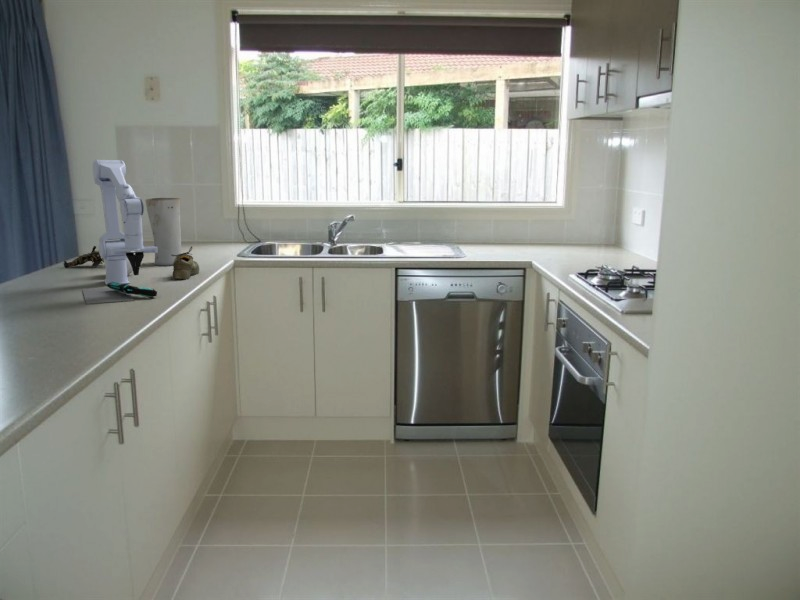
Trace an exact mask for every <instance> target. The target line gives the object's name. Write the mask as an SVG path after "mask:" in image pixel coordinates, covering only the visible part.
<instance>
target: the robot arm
mask: <svg viewBox="0 0 800 600" xmlns="http://www.w3.org/2000/svg"><path fill="white" fill-rule="evenodd" d="M126 173H127V168H126V164H125V162H124V161H123V159H114V160H113V159H95V160H94V161H93V163H92V174H93V175H92V176H93V181H94V184H96V185H97V186H99V187H100V193H101V200H102V210H103V217H104V218H103V219H104V225H105V232H104V233H102V235H100V236H99V238H98V251H99V254H100V256H101V258H103V259H105V265H104V268H105V279H104V280H103V281H104V283H105V285H106V286H107V284H108V283H112V282H115V283H121V284H126V285H129V284H130V283H131V282H130V281H129V278H128V275H127V263H126V259H128V260H129V262H130V264H131V266H132V269H133V271H132V274H133V275H134V276H139V275H140V274H139V273H140V267H141V263H142V261H143V259H144V256H145V254H150V253H151V254H153V253H154V254H155V253H158V248H157V247H155V246H144V237H143V236H144V235H143V220H142V216H144V214H145V213H144V212H145V205H144V201H143V199H142V198H141V197H139V196H137V195H136V193H135V192H134V191H135V190H134V189H133V187H132V186H131V185H130V184H129V183H127V181H126V178H125V176H126ZM117 200H118V201H117ZM118 203H119V211H120V212H119V211H118ZM119 213H120V215H121V220H122V222H123V232H122V231H121V228H120V227H121V226H120V219H119ZM131 251H134V252H131ZM135 265H136V266H135Z"/></svg>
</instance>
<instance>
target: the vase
mask: <svg viewBox="0 0 800 600" xmlns="http://www.w3.org/2000/svg"><path fill="white" fill-rule="evenodd" d="M180 200H181V199H180V198H178V197H154V198H147V199H145V206H146V212H147V216H148V220H149V224H150V228H151V232H152V237H153V243H154V246H153V247H157V248H158V253H154V262H153V263H154V264H153V265H154V266H156V265H157V266H160V267H164V266H165V267H171V265H173V263H174V259H175V258H176V256H172V255H178V254H183V252H182V237H181V236H182V234H181V231H182V230H181V211H180V210H181V209H180V206H181V205H180V204H181V203H180V202H181V201H180Z"/></svg>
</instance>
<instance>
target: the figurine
mask: <svg viewBox="0 0 800 600" xmlns="http://www.w3.org/2000/svg"><path fill="white" fill-rule="evenodd" d="M96 249H97V246H96V245H93V247H92V250H91V252H88V253H85V254H84V253H83V254H82V255H78V256H77V257H76V258H74V259H73V260H72V261H70V262H67V260H63V266H64V268H65V269H68V268H70V267H77V266H81V265H85V264H86V263H88V262H91V263H92V264H91V269H93V268H97V267H98V266H99V265H103V264H104V259H103V258H102V257H101V256H100V254H99V250H96Z"/></svg>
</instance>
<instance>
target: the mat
mask: <svg viewBox="0 0 800 600" xmlns="http://www.w3.org/2000/svg"><path fill="white" fill-rule="evenodd" d="M82 293H83V296H84V300H85V305H95V304H96V303H99V304H109V303H108V302H112V303H122V302H121V301H125V302H134V301H135V299H134V297H133V296H132V294H127V293H123V292H121V291H117V290H113V289H111V288H109V287H101V288H100V287H99V288H84V289H82ZM96 305H97V304H96Z"/></svg>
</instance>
